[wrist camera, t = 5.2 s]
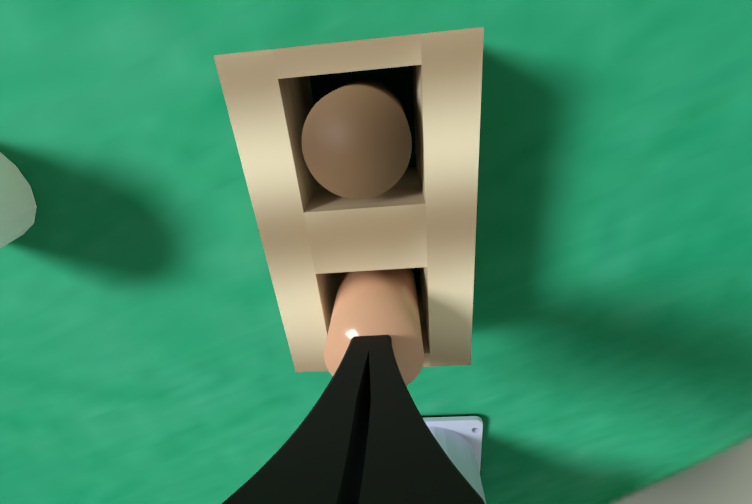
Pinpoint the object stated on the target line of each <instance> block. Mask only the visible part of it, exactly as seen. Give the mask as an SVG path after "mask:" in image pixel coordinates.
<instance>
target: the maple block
mask: <svg viewBox="0 0 752 504" xmlns="http://www.w3.org/2000/svg"><path fill="white" fill-rule="evenodd" d="M483 39H484V27H479V28H470V29H460V30H451V31H441V32H432V33H422V34H413V35H403V36H394V37H384V38H375V39H365V40H356V41H346V42H337V43H327V44H318V45H309V46H299V47H290V48H280V49H271V50H261V51H252V52H242V53H233V54H223V55H214V59H215V63H216V66H217V70H218V74H219V78H220V82H221V86H222V90H223V93H224V97H225V101H226V105H227V109H228V113H229V117H230V120H231V124H232V128H233V132H234V136H235V140H236V144H237V147H238V151H239V155H240V159H241V163H242V167H243V171H244V174H245V178H246V182H247V186H248V190H249V194H250V198H251V201H252V205H253V209H254V213H255V217H256V221H257V225H258V228H259V232H260V236H261V240H262V244H263V248H264V252H265V255H266V259H267V263H268V267H269V271H270V275H271V278H272V282H273V286H274V290H275V294H276V298H277V302H278V305H279V309H280V313H281V317H282V321H283V325H284V329H285V332H286V336H287V340H288V344H289V348H290V352H291V356H292V359H293V363H294V367H295V371H296V372H315V371H328V369H327V367H326V364H325V361H324V348H325V344H326V340H327V335H328V331H329V326H330V322H331V317H332V313H333V308H334V304H335V299H336V295H337V290H338V286H339V281H340V277H341V274H340V272H355V271H372V270H388V269H404V268H420V276H421V290H416V292H417V300H418V309H419V317H420V325H421V334H422V342H423V350H424V363H423V366H422V367H430V366H453V365H471V343H472V317H473V292H474V267H475V241H476V216H477V191H478V165H479V140H480V115H481V89H482V64H483ZM403 66H412V73H413V98H414V124H415V149H416V167H411V168H407V169H406V171H405V172H404V174H403V176H402V177H401V178H400V180H399V181H398V182H397V183H396V184H395V185H394V186H393V187H392V188H390V189H389V190H388V191H386V192H384V193H383V194H380V195H378V196H376V197H372V198H368V199H349V198H345V197H341V196H338V195H336V194H334V193H332V192H330V191H329V190H327V189H326V188H324V187H323V186H322V185H321V184H320V183H319V182H318V181H317V180H316V179H315V178H314V177H313V175H312V174H311V172H310V171H309V169H308V167H307V165H306V162H305V160H304V156H303V152H302V131H303V127H304V123H305V120H306V118H307V116H308V114H309V112H310V111H311V109H312V108H313V107H314V102H313V95H312V89H311V82H310V76H313V75H323V74H333V73H343V72H353V71H363V70H373V69H383V68H393V67H403Z"/></svg>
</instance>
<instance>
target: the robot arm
mask: <svg viewBox="0 0 752 504" xmlns="http://www.w3.org/2000/svg"><path fill="white" fill-rule="evenodd" d="M482 435H483V422H482V419H481V418H480V417H478V416H457V417H428V418H422V416H421V415H420V413H419V411H418V409H417V407H416V406H415V404H414V402H413V400H412V398H411V396H410V394H409V392H408V390H407V387H406V385H405V383H404V380H403V378H402V375H401V373H400V371H399V368H398V365H397V362H396V359H395V356H394V352H393V348H392V339H391V337H390V336H389V335H372V336H354V337H353V338H352V339H351V341H350V344H349V346H348V348H347V350H346V353H345V355H344V357H343V359H342V361H341V363H340V365H339V367H338V368H337V370H336V372H335V374H334V376H333V377H332V379H331V381H330V383H329V384H328V386H327V387H326V389H325V391H324V392H323V394H322V395H321V397H320V398H319V400H318V401H317V403H316V404H315V406H314V407H313V409H312V410H311V411H310V413H309V414H308V415H307V417H306V418H305V419H304V421H303V422H302V423H301V425H300V426H299V427H298V428H297V429H296V431H295V432H294V433H293V434H292V435H291V437H290V438H289V439H288V440H287V441H286V443H285V444H284V445H283V446H282V447H281V448H280V449H279V450H278V451H277V452H276V453H275V454H274V455H273V456H272V458H271V459H270V460H269V461H268V462H267V463H266V464H265V465H264V466H263V467H262V468H261V469H260V470H259V471H258V472H257V473H256V474H255V475H254V476H253V477H251V478H250V479H249V480H248V481H247V482H246V483H245V484H244V485H243V486H241V487H240V488H239V489H238V490H237V491H236V492H235V493H233V494H232V495H231V496H230V497H229V498H228V499H227V500H225V501H224V502H223V503H222V504H486V500H485V495H484V491H483V486H482V482H481V477H480V464H481V450H482Z"/></svg>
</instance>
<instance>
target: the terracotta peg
mask: <svg viewBox="0 0 752 504" xmlns="http://www.w3.org/2000/svg"><path fill="white" fill-rule="evenodd" d="M372 335H389V336H390V337H391V339H392V348H393V352H394V356H395V359H396V362H397V365H398V368H399V371H400V373H401V375H402V378H403V380H404V383H405V385H408V384H409V383H410V382H412V381H413V380H414V379H415V378H416V377H417V375H418V374H419V373H420V371H421V369H422V366H423V363H424V350H423V342H422V334H421V325H420V317H419V309H418V300H417V292H416V284H415V278H414V274H413V272H412V270H411V269H410V268H404V269H388V270H372V271H355V272H342V274H341V277H340V281H339V286H338V290H337V295H336V299H335V304H334V308H333V313H332V317H331V322H330V326H329V331H328V335H327V340H326V344H325V348H324V361H325V364H326V367H327V369H328V371H329V372H330V374H331V375H332V376H334V374H335V372H336V370H337V368H338V367H339V365H340V363H341V361H342V359H343V357H344V355H345V353H346V350H347V348H348V346H349V344H350V341H351V339H352V338H353V337H354V336H372Z"/></svg>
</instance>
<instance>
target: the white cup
mask: <svg viewBox="0 0 752 504" xmlns="http://www.w3.org/2000/svg"><path fill="white" fill-rule="evenodd" d="M36 209H37V206H36V202H35V199H34V196H33V192H32V189H31V186H30V185H29V183H28V182H27V180H26V179H25V178H24V176H23V175H22V173H21V172H20V171H19V169H18V168H17V166H16V165H15V164H14V163H12V162H11V161H10V160H9V159H8V158H7V157H5V156H4V155H3V154H2V153H1V152H0V248H2V247H4V246H5V245H7V244H9V243H10V242H12V241H13V240H15V239H17V238H18V237H20V236H22V235H23V234H24V233H25V232H26V231H27V230H28V229H29V228H30V227H31V226H32V225H33V224H34V221H35V215H36Z"/></svg>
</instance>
